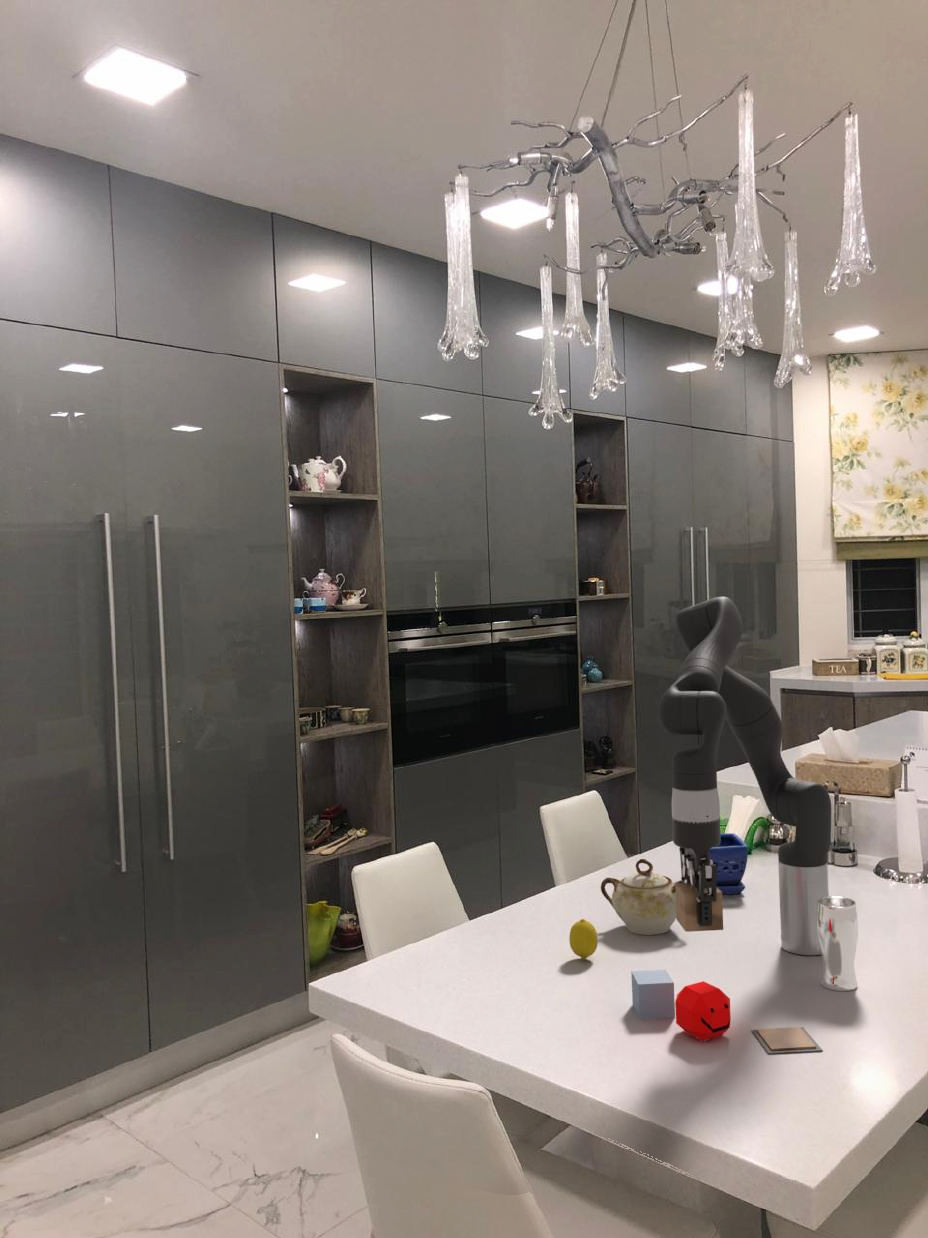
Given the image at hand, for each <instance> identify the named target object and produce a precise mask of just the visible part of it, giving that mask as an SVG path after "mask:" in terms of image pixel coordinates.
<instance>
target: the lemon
mask: <svg viewBox="0 0 928 1238" xmlns="http://www.w3.org/2000/svg"><path fill="white" fill-rule="evenodd" d="M568 938H569V939H568V940H569V946H570V949H571V951H572V952H573V953H574V954H575V955H576V956H577V957H580V958H581V959H582V960H587V959H588V957H591V956H593V954H595V952H596V950H597V948H598V944H599V936H598V932H597V930H596V928H595V926H594V925H593V923H591V922H590V921H588V920H586V918H585V919H584V918H581V919H580V920H578V921H576V922H575V923H574V924H573V925H572V926H571V928H570V931H569V937H568Z"/></svg>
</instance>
